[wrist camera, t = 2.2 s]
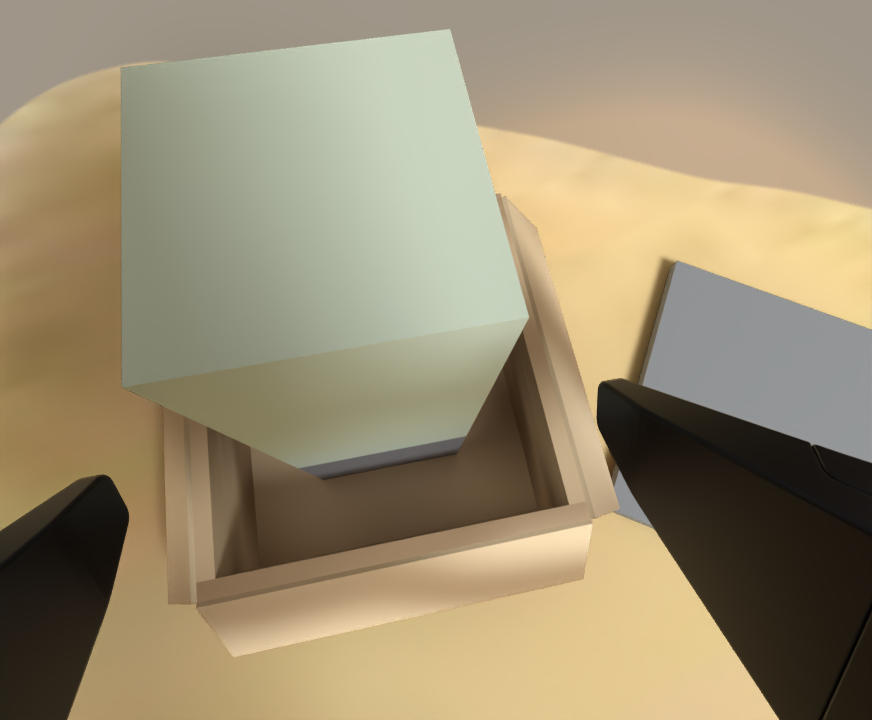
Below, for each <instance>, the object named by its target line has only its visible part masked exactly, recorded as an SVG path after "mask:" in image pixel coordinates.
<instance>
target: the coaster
mask: <svg viewBox="0 0 872 720" xmlns="http://www.w3.org/2000/svg"><path fill="white" fill-rule="evenodd" d="M638 384H640V385H643V386H646V387H649V388H652V389H655V390H658V391H661V392H664V393H666V394H669V395H672V396H675V397H678V398H681V399H684V400H687V401H690V402H693V403H696V404H699V405H702V406H705V407H708V408H711V409H714V410H716V411H719V412H722V413H725V414H728V415H731V416H734V417H737V418H740V419H743V420H746V421H749V422H752V423H755V424H758V425H761V426H764V427H766V428H769V429H772V430H775V431H778V432H781V433H784V434H787V435H790V436H793V437H796V438H799V439H802V440H805V441H808V442H810V443H811V445H814V444H817V445H820V446H823V447H826V448H829V449H831V450H834V451H837V452H840V453H843V454H846V455H849V456H852V457H856V458H859V459H862V460H865V461H868V462H871V463H872V330H871V329H868V328H865V327H862V326H859V325H857V324H854V323H851V322H848V321H845V320H843V319H840V318H837V317H834V316H831V315H829V314H826V313H823V312H820V311H817V310H814V309H812V308H809V307H806V306H803V305H800V304H798V303H795V302H792V301H789V300H786V299H784V298H781V297H778V296H775V295H772V294H769V293H767V292H764V291H761V290H758V289H755V288H753V287H750V286H747V285H744V284H741V283H739V282H736V281H733V280H730V279H727V278H724V277H722V276H719V275H716V274H713V273H710V272H708V271H705V270H702V269H699V268H696V267H693V266H691V265H688V264H685V263H682V262H679V261H676V262H675V263H674V264H673V265H672V266H671V267H670V271H669V274H668V278H667V281H666V285H665V288H664V292H663V295H662V299H661V303H660V306H659V310H658V313H657V317H656V320H655V324H654V328H653V331H652V335H651V338H650V342H649V345H648V349H647V353H646V356H645V360H644V363H643V367H642V370H641V374H640V377H639V381H638ZM611 480H612V483H613V487H614V490H615V493H616V497H617V500H618V503H619V507H620V509H618V510H616V511H613V512H614V513H616V514H619V515H621V516H624V517H626V518H629V519H631V520H634V521H636V522H639V523H641V524H644V525H646V526H648V527H651V528H653V526H652V525H651V523H650V522H649V520H648V519H647V517H646V516H645V514H644V513H643V511H642V509H641V508H640V506H639V505H638V503H637V502H636V500H635V498H634V497H633V495H632V493H631V492H630V490H629V488H628V486H627V484H626V482H625V480H624V478H623V476H622V474H621V472H620V470H619V468H618V466H617V464H616V463H615V467H614V470H613V474H612V477H611ZM653 529H654V528H653Z"/></svg>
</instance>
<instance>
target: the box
mask: <svg viewBox="0 0 872 720" xmlns="http://www.w3.org/2000/svg"><path fill="white" fill-rule="evenodd" d="M121 277H122V388H124V389H126V390H128V391H131V392H133V393H135V394H137V395H139V396H141V397H144V398H146V399H148V400H150V401H152V402H154V403H157V404H159V405H161V406H163V407H165V408H168V409H170V410H172V411H174V412H176V413H178V414H181V415H183V416H185V417H187V418H189V419H191V420H194V421H196V422H198V423H200V424H202V425H205V426H207V427H209V428H211V429H213V430H215V431H218V432H220V433H222V434H224V435H226V436H229V437H231V438H233V439H235V440H237V441H239V442H242V443H244V444H246V445H248V446H250V447H252V448H255V449H257V450H259V451H261V452H263V453H266V454H268V455H270V456H272V457H274V458H276V459H279V460H281V461H283V462H285V463H287V464H289V465H292V466H294V467H296V468H298V469H300V470H303V471H305V472H307V473H309V474H311V475H313V476H316V477H318V478H320V479H322V480H326V479H331V478H337V477H342V476H347V475H352V474H357V473H362V472H367V471H372V470H378V469H383V468H388V467H393V466H398V465H403V464H408V463H413V462H419V461H424V460H429V459H434V458H439V457H444V456H449V455H454V454H457V453H458V451H459V449H460V447H461V445H462V443H463V441H464V440H465V438H466V436H467V434H468V432H469V430H470V428H471V426H472V424H473V422H474V421H475V419H476V417H477V415H478V413H479V411H480V409H481V407H482V405H483V404H484V402H485V400H486V398H487V396H488V394H489V392H490V390H491V388H492V387H493V385H494V383H495V381H496V379H497V377H498V375H499V373H500V371H501V370H502V368H503V366H504V364H505V362H506V360H507V358H508V356H509V354H510V353H511V351H512V349H513V347H514V345H515V343H516V341H517V339H518V337H519V336H520V334H521V332H522V330H523V328H524V326H525V324H526V322H527V320H528V319H529V315H528V311H527V308H526V304H525V300H524V297H523V293H522V289H521V286H520V282H519V278H518V275H517V271H516V268H515V264H514V260H513V257H512V253H511V249H510V246H509V242H508V238H507V235H506V231H505V228H504V224H503V220H502V217H501V213H500V209H499V206H498V202H497V198H496V195H495V191H494V187H493V184H492V180H491V177H490V173H489V169H488V166H487V162H486V158H485V155H484V151H483V147H482V144H481V140H480V136H479V133H478V129H477V126H476V122H475V118H474V115H473V111H472V108H471V104H470V100H469V96H468V93H467V89H466V85H465V82H464V78H463V75H462V71H461V67H460V64H459V60H458V56H457V53H456V49H455V45H454V42H453V38H452V35H451V31H450V29H449V30H439V31H432V32H423V33H415V34H405V35H397V36H388V37H380V38H371V39H362V40H354V41H346V42H337V43H328V44H320V45H311V46H303V47H294V48H285V49H277V50H268V51H260V52H251V53H243V54H234V55H226V56H217V57H209V58H200V59H191V60H183V61H174V62H166V63H157V64H148V65H140V66H131V67H123V68H121Z"/></svg>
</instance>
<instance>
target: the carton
mask: <svg viewBox="0 0 872 720" xmlns="http://www.w3.org/2000/svg"><path fill="white" fill-rule="evenodd" d="M495 195H496V198H497V202H498V206H499V209H500V213H501V217H502V220H503V224H504V228H505V231H506V235H507V238H508V242H509V246H510V249H511V253H512V257H513V260H514V264H515V268H516V271H517V275H518V278H519V282H520V286H521V289H522V293H523V297H524V300H525V304H526V308H527V311H528V315H529V319H528V320H527V322H526V324H525V326H524V328H523V330H522V332H521V334H520V336H519V337H518V339H517V341H516V343H515V345H514V347H513V349H512V351H511V353H510V354H509V356H508V358H507V360H506V362H505V364H504V366H503V368H502V370H501V371H500V373H499V375H498V377H497V379H496V381H495V383H494V385H493V387H492V388H491V390H490V392H489V394H488V396H487V398H486V400H485V402H484V404H483V405H482V407H481V409H480V411H479V413H478V415H477V417H476V419H475V421H474V422H473V424H472V426H471V428H470V430H469V432H468V434H467V436H466V438H465V440H464V441H463V443H462V445H461V447H460V449H459V451H458V453H457V454H454V455H449V456H444V457H439V458H434V459H429V460H424V461H419V462H413V463H408V464H403V465H398V466H393V467H388V468H383V469H378V470H372V471H367V472H362V473H357V474H352V475H347V476H342V477H337V478H331V479H326V480H322V479H320V478H318V477H316V476H313V475H311V474H309V473H307V472H305V471H303V470H300V469H298V468H296V467H294V466H292V465H289V464H287V463H285V462H283V461H281V460H279V459H276V458H274V457H272V456H270V455H268V454H266V453H263V452H261V451H259V450H257V449H255V448H252V447H250V446H248V445H246V444H244V443H242V442H239V441H237V440H235V439H233V438H231V437H229V436H226V435H224V434H222V433H220V432H218V431H215V430H213V429H211V428H209V427H207V426H205V425H202V424H200V423H198V422H196V421H194V420H191V419H189V418H187V417H185V416H183V415H181V414H178V413H176V412H174V411H172V410H170V409H168V408H165V407H163V430H164V465H165V499H166V534H167V569H168V604H194V603H197V606H196V609H197V610H198V612H199V613H200V614H201V616H202V617H203V618H204V619H205V621H206V622H207V623H208V625H209V626H210V627H211V629H212V630H213V631H214V632H215V634H216V635H217V636H218V638H219V639H220V640H221V642H222V643H223V644H224V646H225V647H226V648H227V649H228V651H229V652H230V653H231V655H232V656H233V657H237V656H242V655H246V654H251V653H255V652H260V651H264V650H269V649H273V648H277V647H282V646H286V645H291V644H295V643H300V642H304V641H309V640H313V639H318V638H322V637H327V636H331V635H336V634H340V633H345V632H349V631H354V630H358V629H363V628H367V627H372V626H376V625H380V624H385V623H389V622H394V621H398V620H403V619H407V618H412V617H416V616H421V615H425V614H430V613H434V612H439V611H443V610H448V609H452V608H457V607H461V606H466V605H470V604H474V603H479V602H483V601H488V600H492V599H497V598H501V597H506V596H510V595H515V594H519V593H524V592H528V591H533V590H537V589H542V588H546V587H551V586H555V585H560V584H564V583H569V582H573V581H577V580H582V579H583V577H584V571H585V566H586V560H587V554H588V549H589V543H590V537H591V532H592V526H593V523H592V521H591V519H595V518H598V517H600V516H603V515H606V514H608V513H611V512H613V511H616V510H618V509H620V507H619V503H618V500H617V497H616V493H615V490H614V487H613V483H612V480H611V476H610V473H609V470H608V466H607V463H606V460H605V456H604V453H603V450H602V446H601V443H600V439H599V436H598V433H597V429H596V426H595V423H594V419H593V416H592V413H591V409H590V406H589V402H588V399H587V396H586V392H585V389H584V386H583V382H582V379H581V376H580V372H579V369H578V365H577V362H576V359H575V355H574V352H573V349H572V345H571V342H570V339H569V335H568V332H567V328H566V325H565V322H564V318H563V315H562V312H561V308H560V305H559V302H558V298H557V295H556V291H555V288H554V285H553V281H552V278H551V275H550V271H549V268H548V265H547V261H546V258H545V254H544V251H543V248H542V244H541V241H540V238H539V234H538V231H537V228H536V227H535V226H534V225H533V224H532V223H531V222H530V221H529V220H528V219H527V218H526V217H525V216H524V215H523V214H522V213H521V212H520V211H519V210H518V209H517V207H516V206H515V205H514V204H513V203H512V202H511V201H510V200H509V199H508V198H507V197H506V196H504V197H502V198H501V194H495Z"/></svg>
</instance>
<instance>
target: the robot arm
mask: <svg viewBox="0 0 872 720" xmlns="http://www.w3.org/2000/svg"><path fill="white" fill-rule="evenodd" d="M597 424H598V428H599V430H600V432H601V434H602V436H603V438H604V440H605V442H606V444H607V446H608V448H609V450H610V452H611V454H612V456H613V458H614V460H615V462H616V464H617V466H618V468H619V470H620V472H621V474H622V476H623V478H624V480H625V482H626V484H627V486H628V488H629V490H630V492H631V493H632V495H633V497H634V498H635V500H636V502H637V503H638V505H639V506H640V508H641V509H642V511H643V513H644V514H645V516H646V517H647V519H648V520H649V522H650V523H651V525H652V526H653V528H654V529H655V531H656V532H657V534H658V535H659V537H660V538H661V540H662V542H663V543H664V545H665V546H666V548H667V549H668V551H669V552H670V554H671V555H672V557H673V558H674V560H675V561H676V563H677V564H678V566H679V567H680V569H681V571H682V572H683V574H684V575H685V577H686V578H687V580H688V581H689V583H690V584H691V586H692V587H693V589H694V590H695V592H696V593H697V595H698V596H699V598H700V599H701V601H702V603H703V604H704V606H705V607H706V609H707V610H708V612H709V613H710V615H711V616H712V618H713V619H714V621H715V622H716V624H717V625H718V627H719V628H720V630H721V632H722V633H723V635H724V636H725V638H726V639H727V641H728V642H729V644H730V645H731V647H732V648H733V650H734V651H735V653H736V654H737V656H738V657H739V659H740V661H741V662H742V664H743V665H744V667H745V668H746V670H747V671H748V673H749V674H750V676H751V677H752V679H753V680H754V682H755V683H756V685H757V686H758V688H759V689H760V691H761V693H762V694H763V696H764V697H765V699H766V700H767V702H768V703H769V705H770V706H771V708H772V709H773V711H774V712H775V714H776V715H777V717H778V718H779V720H872V463H871V462H868V461H865V460H862V459H859V458H856V457H852V456H849V455H846V454H843V453H840V452H837V451H834V450H831V449H829V448H826V447H823V446H820V445H817V444H814V445H811V443H810V442H808V441H805V440H802V439H799V438H796V437H793V436H790V435H787V434H784V433H781V432H778V431H775V430H772V429H769V428H766V427H764V426H761V425H758V424H755V423H752V422H749V421H746V420H743V419H740V418H737V417H734V416H731V415H728V414H725V413H722V412H719V411H716V410H714V409H711V408H708V407H705V406H702V405H699V404H696V403H693V402H690V401H687V400H684V399H681V398H678V397H675V396H672V395H669V394H666V393H664V392H661V391H658V390H655V389H652V388H649V387H646V386H643V385H640V384H637V383H634V382H631V381H628V380H625V379H622V378H618V379H612V380H607V381H603V382H601V383H600V384H599V387H598V397H597ZM128 523H129V513H128V509H127V507H126V505H125V503H124V501H123V499H122V497H121V496H120V494H119V492H118V490H117V488H116V486H115V484H114V483H113V481H112V479H111V478H110V477H109V476H107V475H96V476H91V477H85V478H81V479H79V480H77V481H75V482H74V483H72V484H71V485H69V486H68V487H66V488H65V489H63V490H62V491H60V492H59V493H57V494H56V495H54V496H53V497H51V498H49V499H48V500H46V501H45V502H43V503H42V504H40V505H39V506H37V507H36V508H34V509H33V510H31V511H30V512H28V513H27V514H25V515H24V516H22V517H21V518H19V519H18V520H16V521H15V522H13V523H12V524H10V525H9V526H7V527H6V528H4V529H2V530H1V531H0V720H67V719H68V716H69V714H70V711H71V708H72V705H73V702H74V700H75V697H76V694H77V691H78V689H79V686H80V683H81V680H82V677H83V675H84V672H85V669H86V666H87V664H88V661H89V658H90V655H91V652H92V650H93V647H94V644H95V641H96V638H97V636H98V633H99V630H100V627H101V625H102V622H103V619H104V616H105V613H106V610H107V607H108V604H109V600H110V597H111V593H112V590H113V585H114V581H115V577H116V573H117V569H118V565H119V561H120V556H121V552H122V548H123V544H124V540H125V536H126V532H127V527H128Z"/></svg>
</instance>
